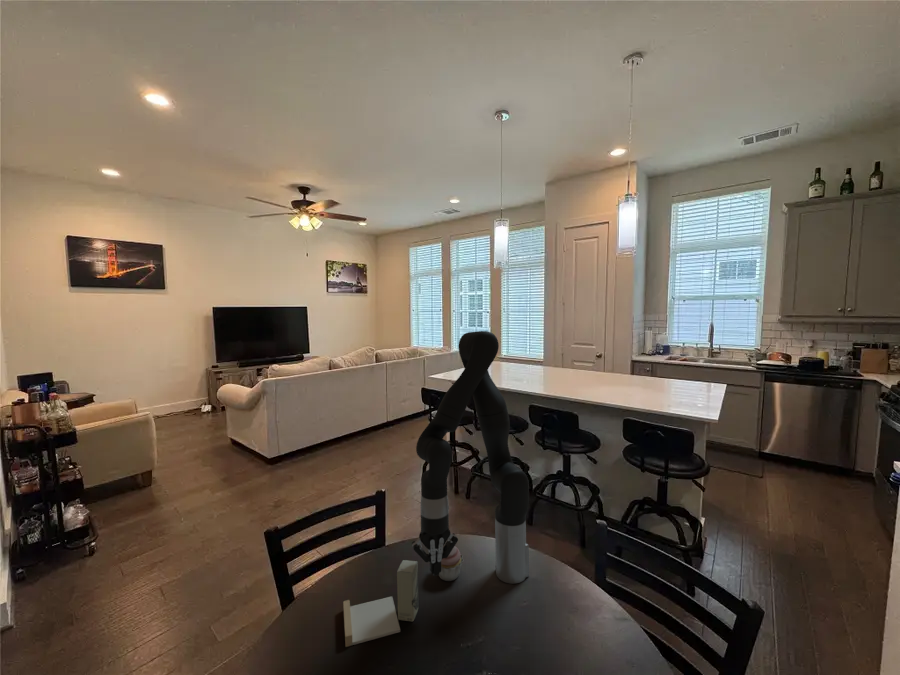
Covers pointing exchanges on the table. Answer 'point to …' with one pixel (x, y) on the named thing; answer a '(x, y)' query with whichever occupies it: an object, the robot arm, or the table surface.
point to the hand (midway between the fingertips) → (435, 573)
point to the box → (407, 590)
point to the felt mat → (369, 620)
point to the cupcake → (451, 565)
